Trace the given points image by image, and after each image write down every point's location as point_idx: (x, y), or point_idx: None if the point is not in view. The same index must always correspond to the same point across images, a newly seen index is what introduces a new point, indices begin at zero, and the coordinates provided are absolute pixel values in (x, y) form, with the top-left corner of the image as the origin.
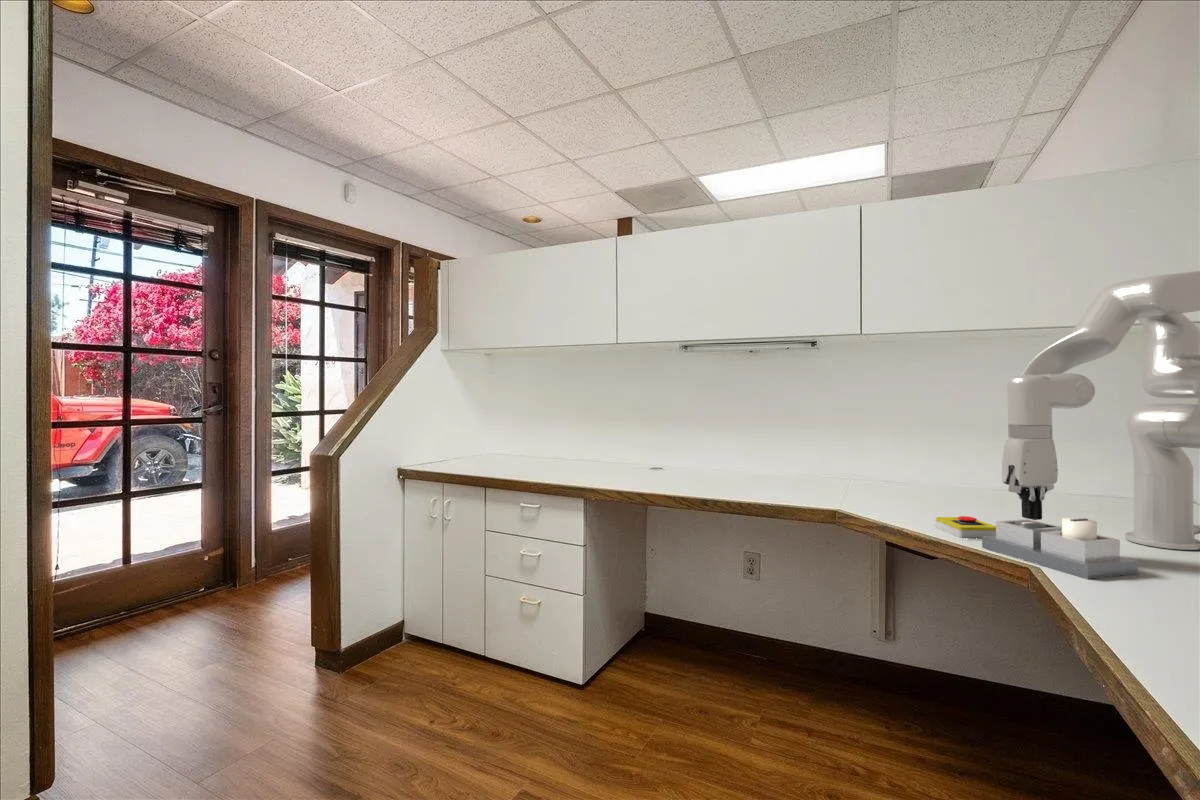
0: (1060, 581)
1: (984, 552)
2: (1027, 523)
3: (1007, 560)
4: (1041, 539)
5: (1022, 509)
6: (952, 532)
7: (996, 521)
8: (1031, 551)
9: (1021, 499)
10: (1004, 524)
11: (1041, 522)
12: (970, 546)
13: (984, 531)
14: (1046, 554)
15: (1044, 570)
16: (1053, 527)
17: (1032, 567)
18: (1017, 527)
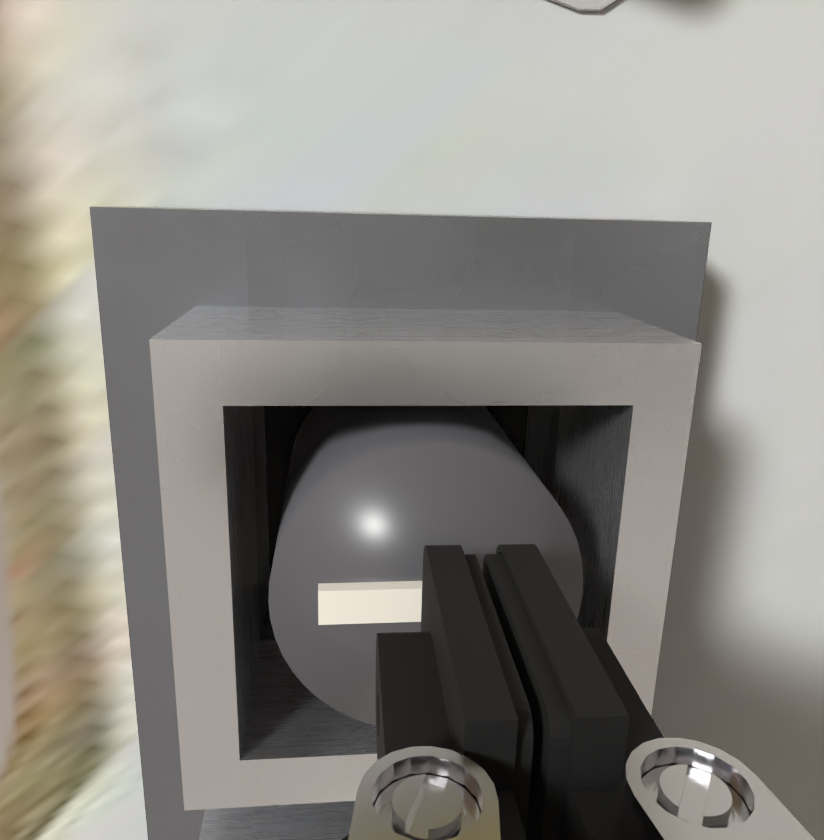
0: None
1: (19, 342)
2: (369, 618)
3: (22, 579)
4: (202, 822)
5: (437, 608)
6: None
7: (151, 346)
8: (139, 720)
9: (459, 716)
10: (161, 466)
11: (670, 539)
12: (52, 121)
13: None
14: (150, 832)
15: (84, 808)
16: None
17: (61, 746)
18: (173, 635)
